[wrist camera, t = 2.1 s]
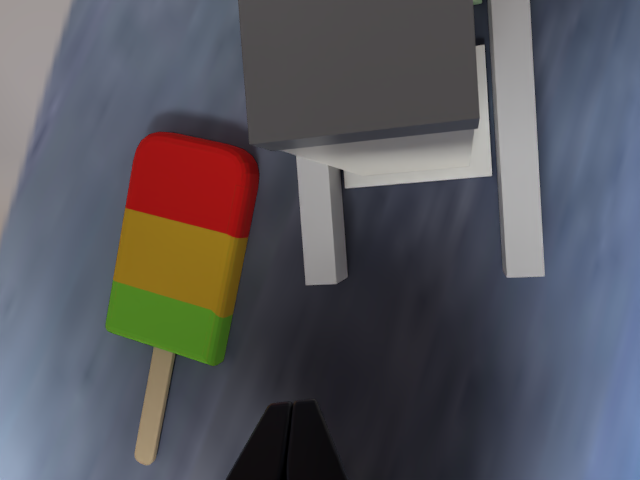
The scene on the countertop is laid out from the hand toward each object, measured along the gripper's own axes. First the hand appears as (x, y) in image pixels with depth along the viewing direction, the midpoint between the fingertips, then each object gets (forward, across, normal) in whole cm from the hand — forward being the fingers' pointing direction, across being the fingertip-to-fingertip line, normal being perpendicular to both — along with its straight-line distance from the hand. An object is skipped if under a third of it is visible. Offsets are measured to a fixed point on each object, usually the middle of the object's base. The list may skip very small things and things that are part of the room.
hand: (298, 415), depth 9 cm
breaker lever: (+13, -4, 0) cm, 14 cm away
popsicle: (+13, +7, +7) cm, 16 cm away
